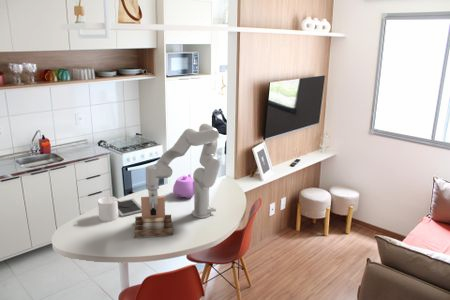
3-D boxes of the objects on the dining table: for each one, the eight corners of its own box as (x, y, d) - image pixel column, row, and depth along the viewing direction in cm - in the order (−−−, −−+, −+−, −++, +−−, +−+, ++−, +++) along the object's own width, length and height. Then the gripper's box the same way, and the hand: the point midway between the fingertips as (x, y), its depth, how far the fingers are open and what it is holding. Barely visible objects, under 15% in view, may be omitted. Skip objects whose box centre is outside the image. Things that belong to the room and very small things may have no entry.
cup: (118, 212, 256) (117, 195, 253) (118, 220, 245) (117, 203, 242) (99, 213, 254) (98, 196, 250) (98, 222, 243) (97, 204, 239)
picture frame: (110, 206, 266) (121, 218, 250) (110, 202, 265) (121, 214, 249) (133, 201, 275) (144, 212, 258) (132, 197, 274) (144, 208, 257)
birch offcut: (163, 226, 240) (163, 217, 239) (163, 229, 237) (163, 220, 235) (143, 227, 238) (143, 218, 236) (143, 230, 234) (143, 221, 233)
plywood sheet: (165, 222, 245) (164, 195, 240) (165, 224, 243) (164, 197, 238) (142, 223, 243) (141, 196, 237) (142, 225, 240) (141, 198, 235)
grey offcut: (164, 231, 234) (164, 222, 233) (163, 235, 231) (163, 225, 229) (143, 232, 233) (143, 223, 231) (143, 235, 229) (142, 226, 227)
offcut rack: (171, 220, 248) (171, 214, 247) (172, 235, 230) (172, 228, 229) (135, 222, 244) (135, 216, 243) (134, 237, 227) (134, 231, 225)
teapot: (204, 191, 293) (204, 172, 289) (196, 201, 275) (196, 182, 270) (179, 187, 298) (179, 169, 293) (170, 198, 279) (169, 178, 274)
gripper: (159, 191, 228) (159, 219, 234) (158, 180, 244) (159, 207, 249) (146, 191, 227) (147, 220, 232) (146, 180, 242) (147, 207, 248)
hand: (153, 213), depth 241 cm, fingers open, 3 cm apart
